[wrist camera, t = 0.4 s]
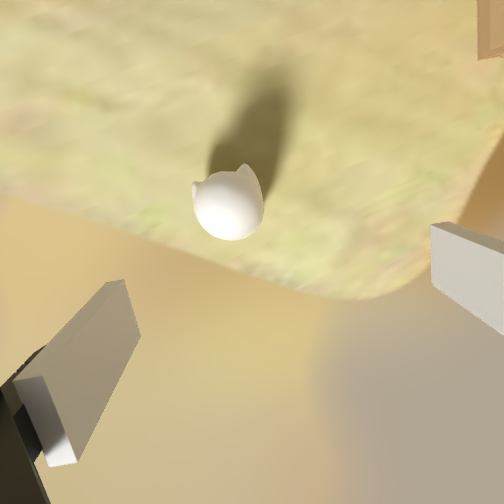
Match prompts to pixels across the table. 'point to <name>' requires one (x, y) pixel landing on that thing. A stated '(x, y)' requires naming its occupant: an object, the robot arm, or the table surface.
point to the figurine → (229, 203)
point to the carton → (490, 28)
